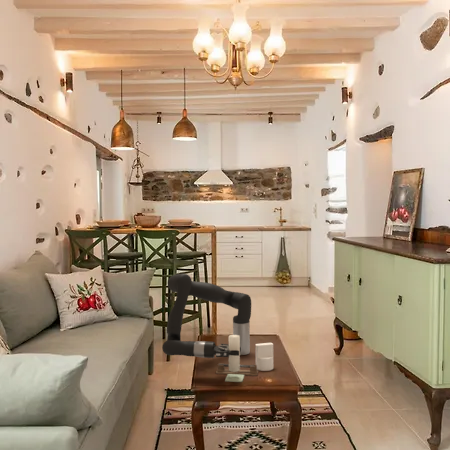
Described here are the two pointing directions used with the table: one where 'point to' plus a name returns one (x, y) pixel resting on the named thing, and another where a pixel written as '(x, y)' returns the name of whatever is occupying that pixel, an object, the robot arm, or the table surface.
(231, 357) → the tall cream cylinder
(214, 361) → the table surface
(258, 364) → the cylinder with rectangular tab
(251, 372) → the rail stand
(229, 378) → the sage mat
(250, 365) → the metal rod
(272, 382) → the table surface
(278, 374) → the table surface
